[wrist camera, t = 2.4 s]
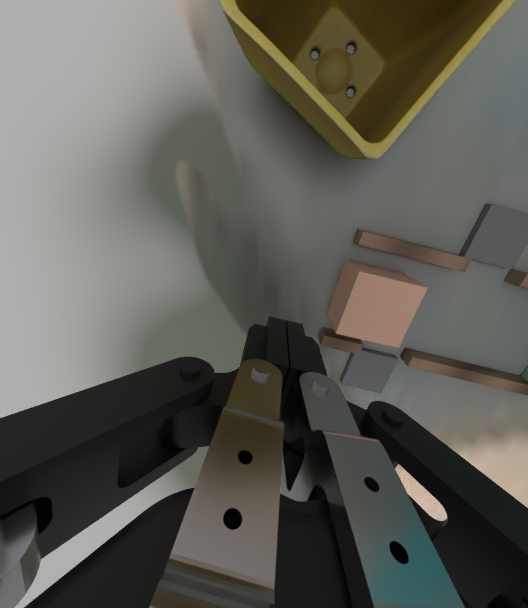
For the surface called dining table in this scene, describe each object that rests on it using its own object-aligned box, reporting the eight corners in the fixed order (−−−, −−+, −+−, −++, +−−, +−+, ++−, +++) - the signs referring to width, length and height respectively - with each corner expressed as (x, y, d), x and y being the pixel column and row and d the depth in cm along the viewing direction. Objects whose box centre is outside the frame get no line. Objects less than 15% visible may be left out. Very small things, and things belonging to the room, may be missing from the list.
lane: (607, 294, 22) (695, 320, 17) (534, 389, 26) (590, 431, 21) (357, 229, 21) (380, 237, 17) (318, 336, 25) (327, 368, 20)
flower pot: (432, 61, 17) (576, -67, 9) (335, 178, 20) (376, 164, 12) (333, -56, 16) (396, -352, 7) (242, 89, 18) (211, -3, 10)
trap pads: (547, 227, 20) (555, 228, 20) (369, 397, 27) (371, 402, 27) (500, 187, 20) (507, 186, 19) (329, 373, 26) (330, 377, 26)
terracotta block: (403, 273, 22) (427, 288, 19) (380, 325, 24) (398, 348, 21) (345, 259, 22) (359, 271, 19) (327, 312, 24) (335, 333, 20)
